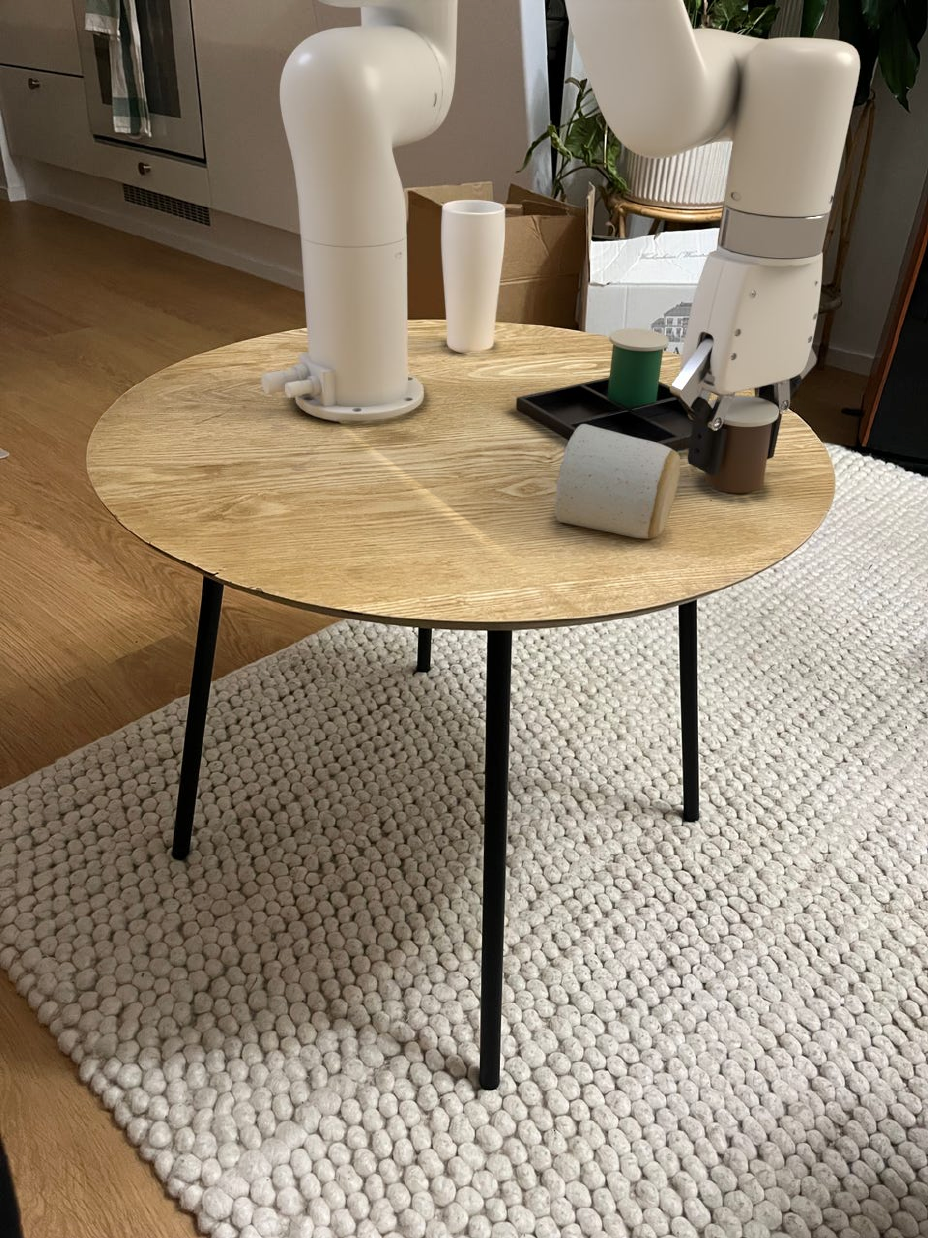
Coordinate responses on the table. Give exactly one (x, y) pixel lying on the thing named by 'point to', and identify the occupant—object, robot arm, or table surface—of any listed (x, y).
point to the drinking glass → (471, 271)
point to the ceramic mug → (616, 483)
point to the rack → (609, 413)
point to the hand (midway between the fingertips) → (730, 458)
